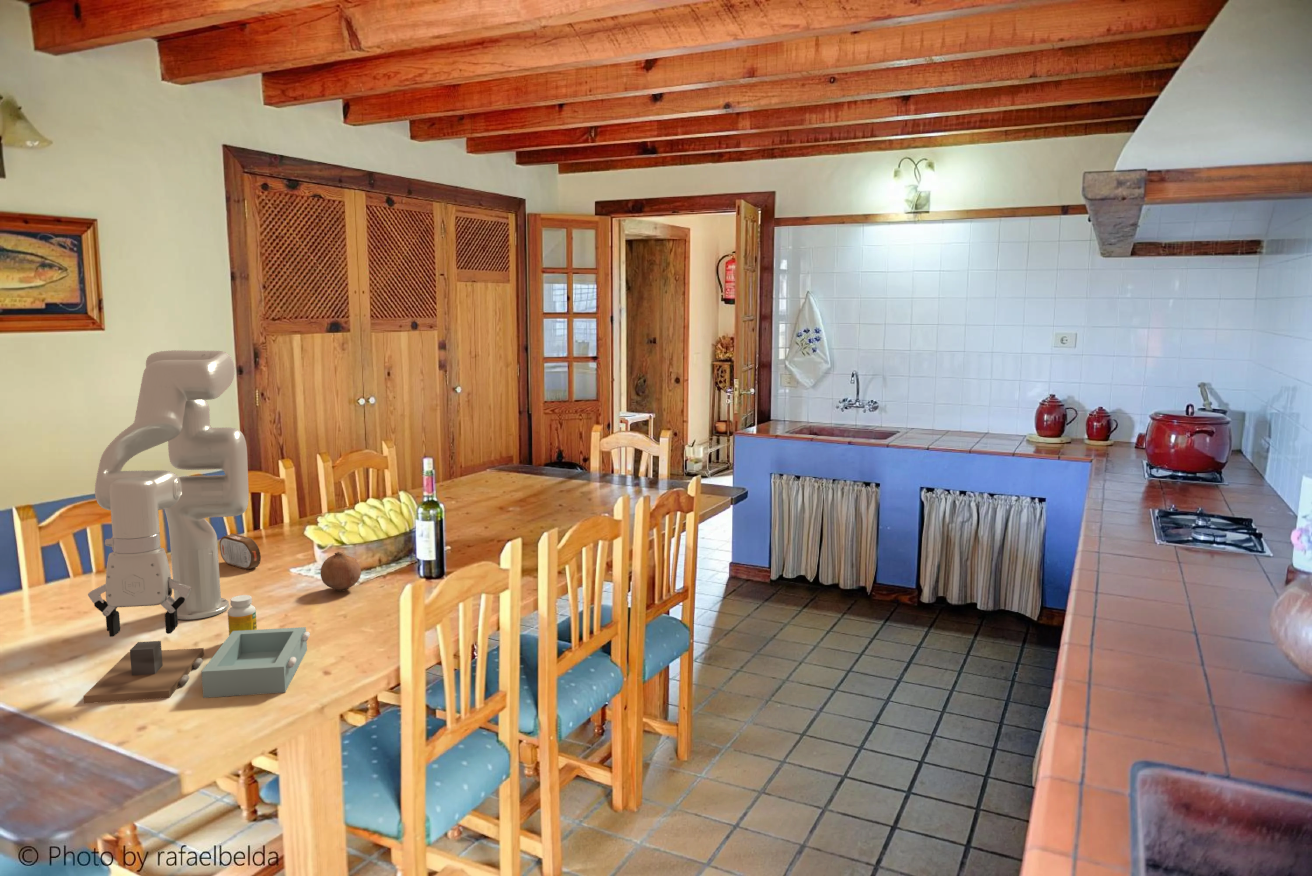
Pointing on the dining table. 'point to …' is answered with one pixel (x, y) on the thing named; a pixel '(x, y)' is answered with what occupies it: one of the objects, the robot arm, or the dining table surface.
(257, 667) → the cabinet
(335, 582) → the onion
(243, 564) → the tin
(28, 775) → the dining table surface
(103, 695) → the door
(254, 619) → the supplement bottle
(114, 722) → the dining table surface
